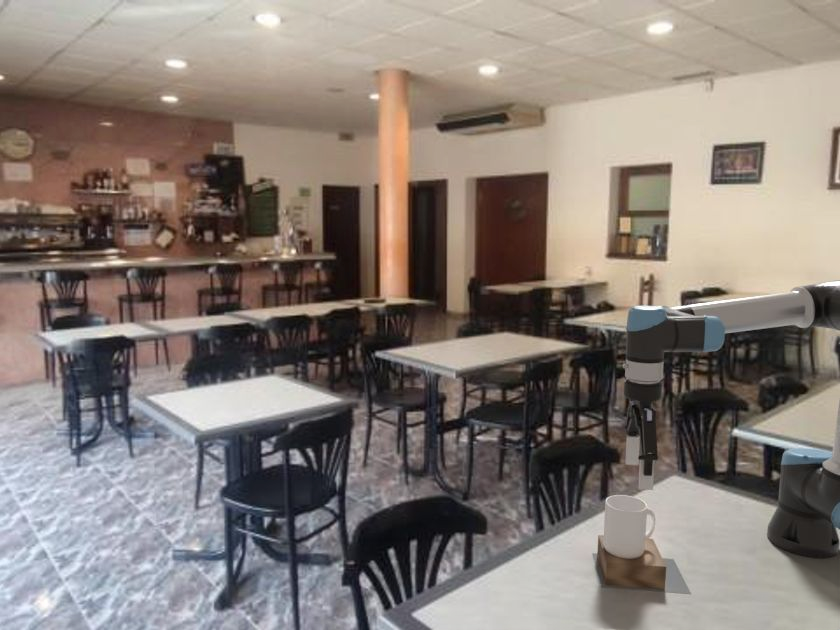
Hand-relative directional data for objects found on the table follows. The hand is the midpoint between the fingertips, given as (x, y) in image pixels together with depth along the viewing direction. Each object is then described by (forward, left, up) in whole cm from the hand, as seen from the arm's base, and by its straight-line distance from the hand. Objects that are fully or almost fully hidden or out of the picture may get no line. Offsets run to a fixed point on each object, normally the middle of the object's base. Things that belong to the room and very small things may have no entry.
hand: (638, 476), depth 138 cm
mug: (+1, 0, -17) cm, 17 cm away
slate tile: (-1, +1, -23) cm, 23 cm away
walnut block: (+1, +1, -22) cm, 22 cm away
